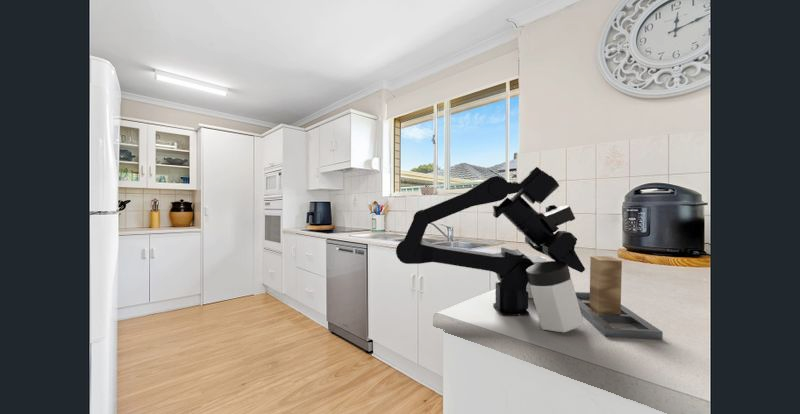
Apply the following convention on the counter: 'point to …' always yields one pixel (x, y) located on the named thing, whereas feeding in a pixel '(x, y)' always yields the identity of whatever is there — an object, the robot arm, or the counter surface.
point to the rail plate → (618, 321)
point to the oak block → (605, 284)
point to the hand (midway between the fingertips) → (574, 266)
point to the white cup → (535, 260)
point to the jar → (554, 296)
